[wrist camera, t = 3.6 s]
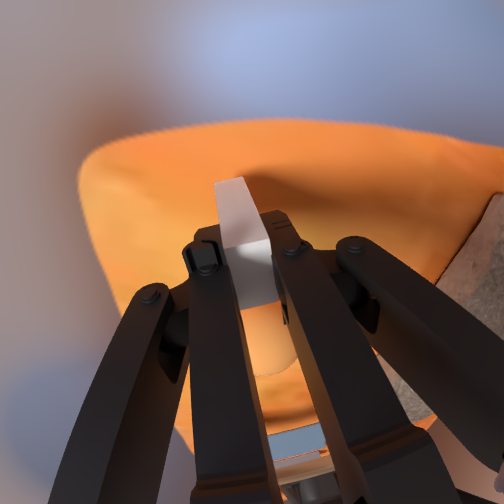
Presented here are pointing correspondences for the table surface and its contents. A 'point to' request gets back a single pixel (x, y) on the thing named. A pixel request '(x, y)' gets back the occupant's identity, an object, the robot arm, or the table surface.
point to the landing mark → (296, 441)
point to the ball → (268, 339)
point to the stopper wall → (297, 460)
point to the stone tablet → (468, 291)
